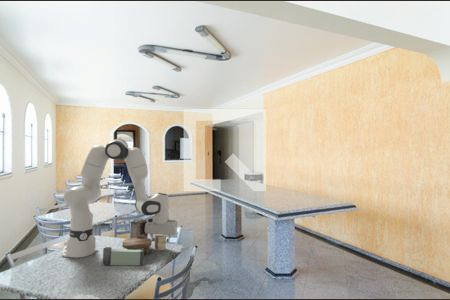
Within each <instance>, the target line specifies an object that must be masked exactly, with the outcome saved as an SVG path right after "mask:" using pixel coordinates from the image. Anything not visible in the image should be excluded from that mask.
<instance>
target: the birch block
mask: <svg viewBox="0 0 450 300" xmlns="http://www.w3.org/2000/svg"><path fill="white" fill-rule="evenodd" d="M154 238H155V241H154V249H155V250H156V251H158V252H159V251H164V250H166V247H167V245H166V244H167V242H166V241H167V235H160V234H154Z"/></svg>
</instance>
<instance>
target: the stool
mask: <svg viewBox="0 0 450 300" xmlns="http://www.w3.org/2000/svg"><path fill="white" fill-rule="evenodd" d="M152 243H153V241H152V238H149V237H148V238H143V237H136V238H130V237H128V238H126V239H123V241H122V248H124V250H144V255H148V254H149V248H150V247H151V246H152Z"/></svg>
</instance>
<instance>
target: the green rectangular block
mask: <svg viewBox="0 0 450 300" xmlns="http://www.w3.org/2000/svg"><path fill="white" fill-rule="evenodd" d="M102 252H103V253H102V265H103V266H109V265H110V266H142V265H143V264H144V256H145V254H144V249H139V250H127V249H120V248H119V249H116V248H115V249H112V247H111V246H107V247H103V251H102Z"/></svg>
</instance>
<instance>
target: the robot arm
mask: <svg viewBox="0 0 450 300" xmlns="http://www.w3.org/2000/svg"><path fill="white" fill-rule="evenodd" d="M109 159H111V160H116V161H117V160H118V161H123V160H124V162H125V164H126V165H125V166H126V168H127V172H128V175H129V177H130V179H131V182H132V186H133V190H134V195H135V203H134V208H135V210H136V211H137V212H139V213H140V214H142V215H144V216H149V217H147V219H145V220H146V221H147V223H146V224H145V233H146V234H149V235H150V239H151V240H152V242H155V235H165V236H168V238H166V243H170V242H171V241H170V239H171V238H172V236H177V234H178V221H177V220H176V219H169V218H170V217H169V216H170V212H169V208H170V198H169V195H168V194H167V193H163V192H157V193H155V194H154V195H153V196H150V197H149V196H147V192H146V189H145V187H146V186H145V179H146V178H147V177H148V174H149V172H148V165H147V162H146V159H145V156H144V153H143V152H142V150H141V149H140V148H139V147H129V145H128V143H127V141H125V140H124V139H121V138H117V139H116V138H115V139H112V140H111V141H109V142H108V143H107V144H106V145H99V144H95V145H93V146H92V147H91V149H90V150H89V151H88V154H87V156H86V158H85V159H84V160H85V161H84V163H83V166H82V168H81V171H80V176H81V180H82V181H81V184H80V186H79V185H78V186H74V187H71V188H69V189H67V190H66V191H65V192H64V194H63V201H64V204H65V205H67V207H68V209H69V211H70V218H71V220H70V222H71V223H70V230H69V237H68V239H67V240H66V241H64V243H63V245H64V246H63V249H62V254H61V257H63V258H64V257H65V258H72V259H73V258H75V259H78V258H84V257H88V256H92V255H93V254H95V253H96V252H98V251H99V248H98V247H96V237H95V236H94V227H93V223H94V221H93V220H94V214H93V213H92V212H91V209H90V206H89V205H90V204H91V203H94V202H96V201H97V200H98V199H100V197H101V195H102V190H101V188H100V186H101V180H102V177H103V173H104V171H105V169H106V165H107V163H108V160H109Z"/></svg>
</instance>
